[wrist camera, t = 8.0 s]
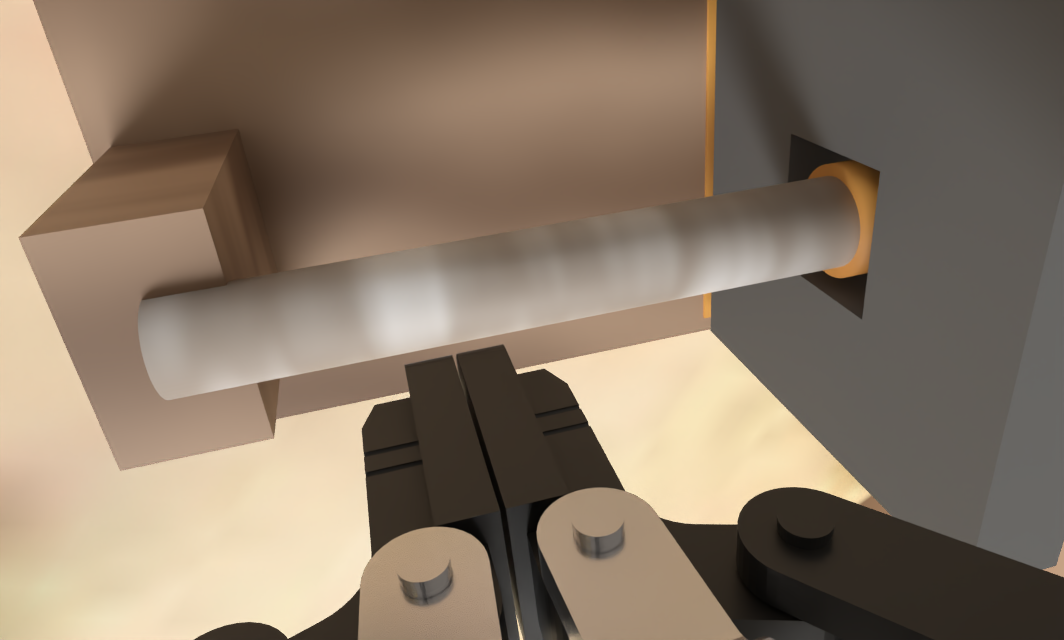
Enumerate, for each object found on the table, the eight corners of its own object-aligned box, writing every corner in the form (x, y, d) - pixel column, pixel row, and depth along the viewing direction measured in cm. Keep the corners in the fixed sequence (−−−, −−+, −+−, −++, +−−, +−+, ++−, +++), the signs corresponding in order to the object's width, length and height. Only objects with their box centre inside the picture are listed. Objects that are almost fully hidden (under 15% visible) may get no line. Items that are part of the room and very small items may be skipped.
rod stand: (52, -11, 18) (-162, 31, 10) (941, -110, 22) (1291, -135, 14) (201, 406, 24) (138, 647, 16) (889, 268, 28) (1118, 403, 20)
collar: (717, -59, 19) (1119, -54, 9) (791, -68, 19) (1253, -71, 10) (710, 330, 24) (965, 591, 14) (768, 318, 24) (1055, 565, 15)
